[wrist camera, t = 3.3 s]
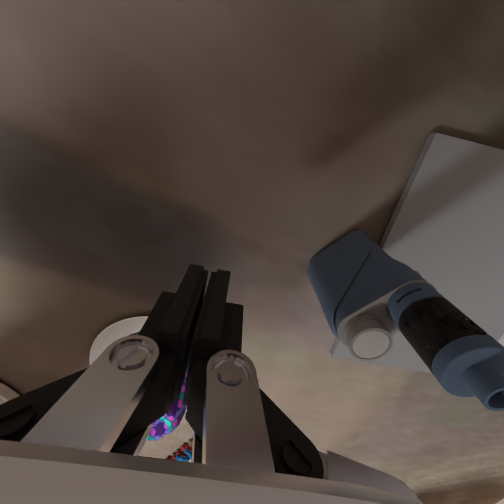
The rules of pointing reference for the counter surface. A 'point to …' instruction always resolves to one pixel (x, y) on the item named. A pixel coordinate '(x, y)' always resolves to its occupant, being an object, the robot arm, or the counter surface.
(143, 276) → the counter surface
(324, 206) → the counter surface
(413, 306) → the vaping device
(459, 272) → the grey flat slab
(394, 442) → the counter surface
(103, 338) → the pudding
